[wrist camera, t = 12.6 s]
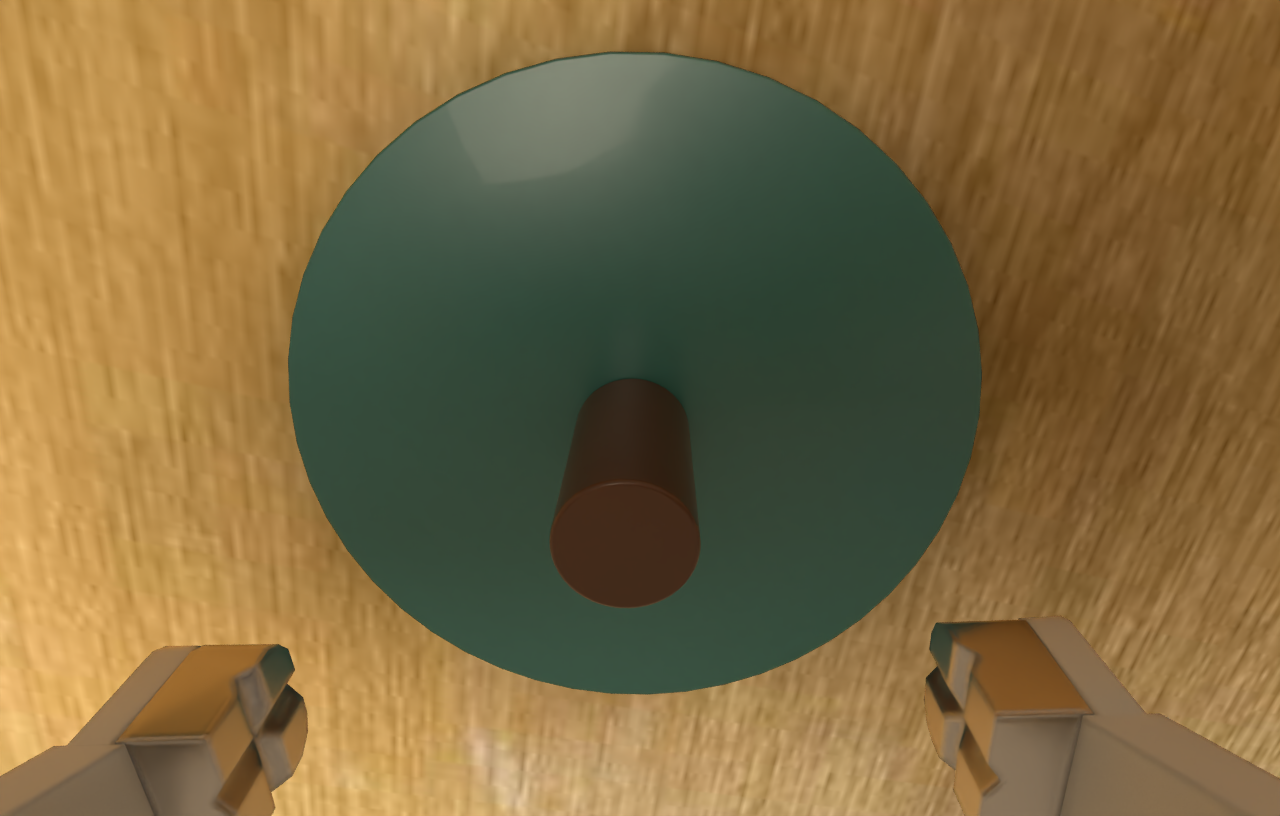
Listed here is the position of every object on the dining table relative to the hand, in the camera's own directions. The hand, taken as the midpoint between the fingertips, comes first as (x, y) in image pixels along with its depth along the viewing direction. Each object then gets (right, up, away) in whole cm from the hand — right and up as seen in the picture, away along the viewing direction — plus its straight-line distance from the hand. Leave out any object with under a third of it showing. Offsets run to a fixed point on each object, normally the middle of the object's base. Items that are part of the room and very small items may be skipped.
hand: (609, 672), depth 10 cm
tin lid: (0, +3, +7) cm, 8 cm away
